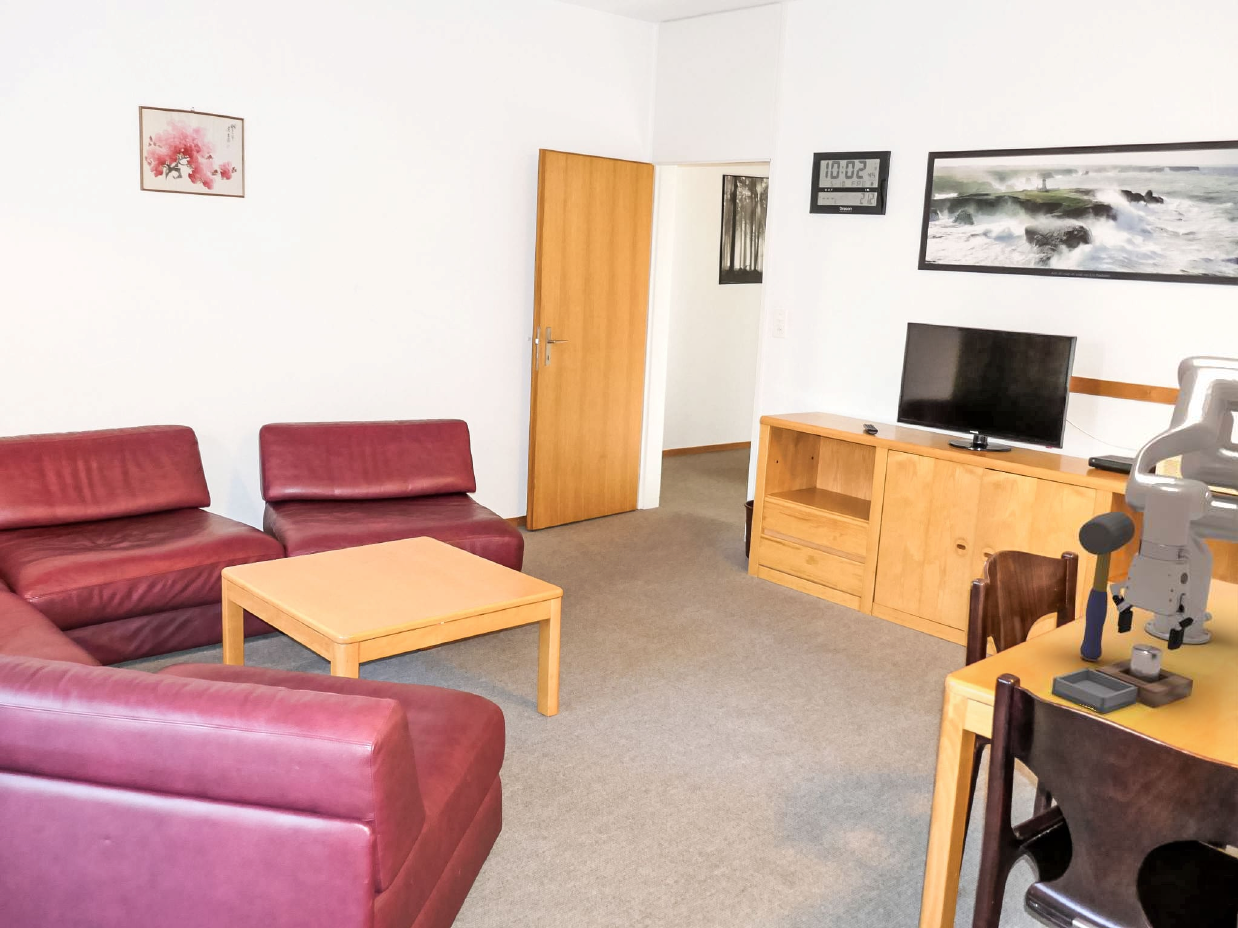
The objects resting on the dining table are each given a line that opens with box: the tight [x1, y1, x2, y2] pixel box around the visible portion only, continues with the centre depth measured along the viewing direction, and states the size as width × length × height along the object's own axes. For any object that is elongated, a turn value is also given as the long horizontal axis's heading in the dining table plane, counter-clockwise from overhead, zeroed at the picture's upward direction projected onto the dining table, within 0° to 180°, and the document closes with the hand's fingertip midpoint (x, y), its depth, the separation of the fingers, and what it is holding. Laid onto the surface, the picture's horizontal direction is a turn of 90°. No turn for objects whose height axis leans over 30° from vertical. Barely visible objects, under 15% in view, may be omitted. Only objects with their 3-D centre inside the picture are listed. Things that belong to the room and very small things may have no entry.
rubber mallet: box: [1078, 511, 1136, 662], centre depth 210 cm, size 12×8×30 cm, turn 137°
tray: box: [1051, 667, 1138, 715], centre depth 194 cm, size 10×10×3 cm
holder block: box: [1094, 657, 1194, 709], centre depth 198 cm, size 12×12×3 cm
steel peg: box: [1128, 643, 1163, 684], centre depth 198 cm, size 5×5×8 cm
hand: (1148, 640), depth 196 cm, fingers open, 9 cm apart
